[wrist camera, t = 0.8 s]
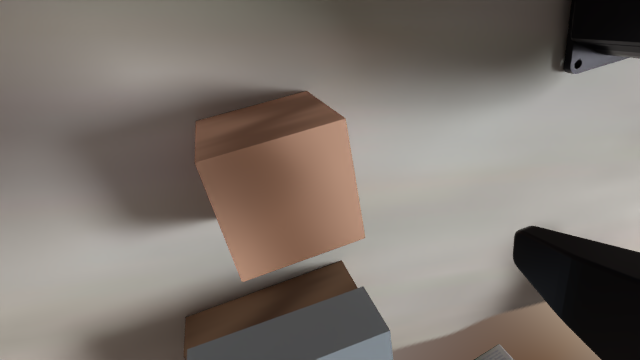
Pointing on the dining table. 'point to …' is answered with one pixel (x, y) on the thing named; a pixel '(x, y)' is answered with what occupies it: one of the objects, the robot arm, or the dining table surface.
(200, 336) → the tower base slab
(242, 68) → the dining table surface
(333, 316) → the tower top slab
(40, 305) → the dining table surface
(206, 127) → the terracotta cube
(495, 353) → the light bulb box
